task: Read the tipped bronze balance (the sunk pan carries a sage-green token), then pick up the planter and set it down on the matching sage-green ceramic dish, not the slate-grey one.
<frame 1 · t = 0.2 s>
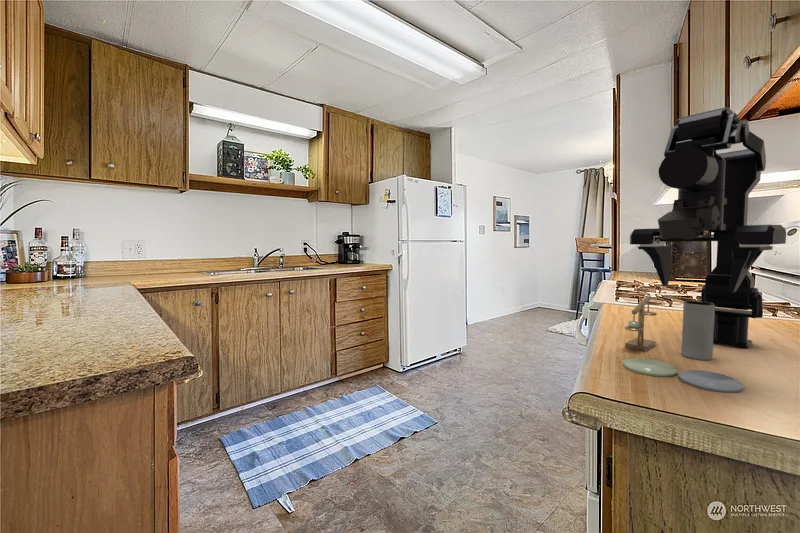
hand: (696, 288, 59), 14 cm above the counter, fingers open, 9 cm apart
balance: (640, 346, 74), on the counter
planter: (696, 357, 68), on the counter
dish green: (649, 368, 62), on the counter
dish grey: (709, 382, 56), on the counter
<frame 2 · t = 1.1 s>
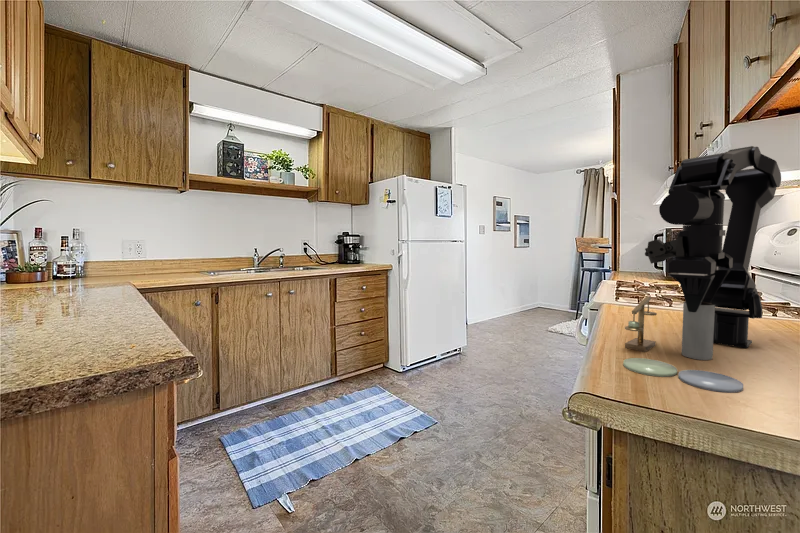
hand: (699, 308, 67), 9 cm above the counter, fingers open, 9 cm apart
nothing on the counter moved.
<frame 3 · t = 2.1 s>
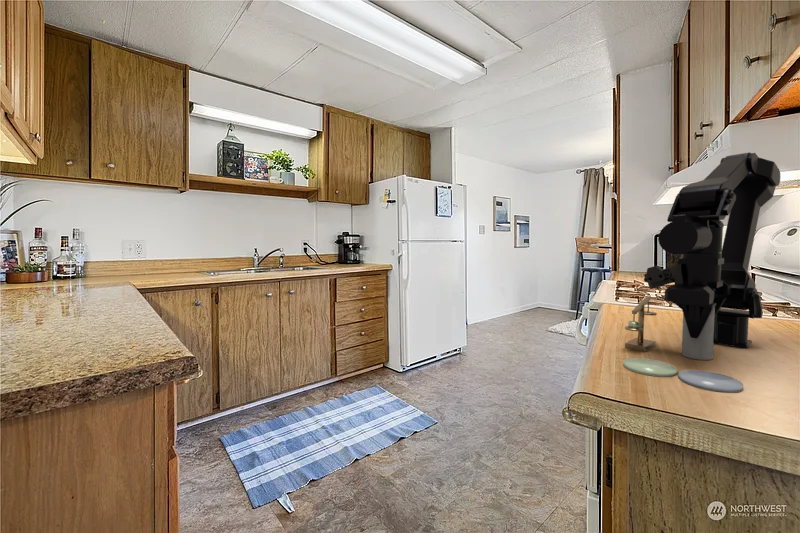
hand: (697, 335, 68), 4 cm above the counter, fingers closed on planter, 4 cm apart
planter: (696, 357, 68), on the counter, touching gripper
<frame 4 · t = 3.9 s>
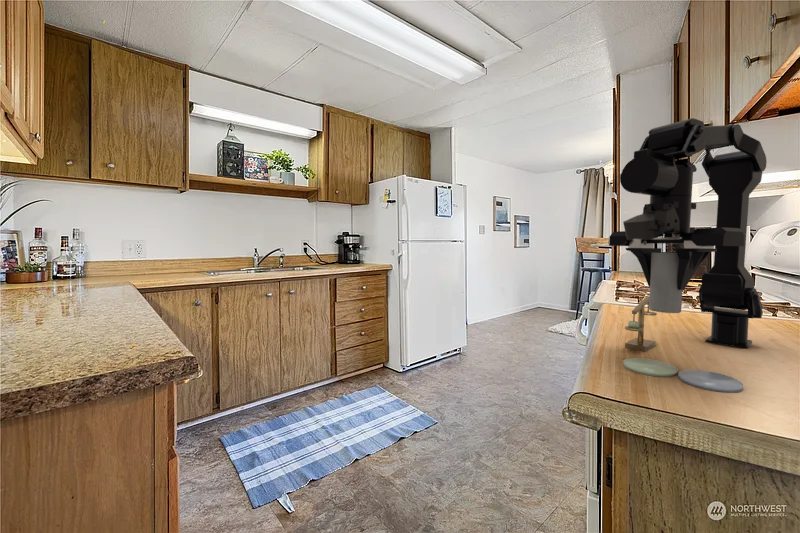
hand: (665, 288, 62), 14 cm above the counter, fingers closed on planter, 4 cm apart
planter: (664, 312, 63), point 10 cm above the counter, touching gripper
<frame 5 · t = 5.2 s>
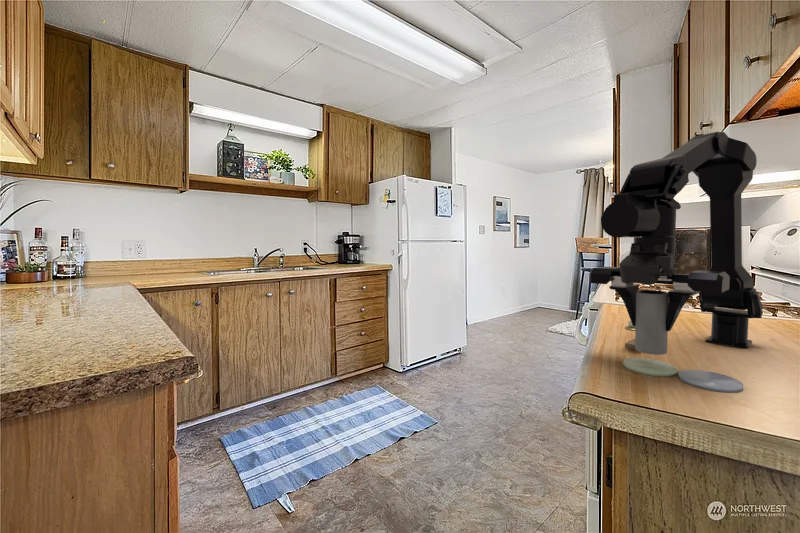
hand: (651, 328, 61), 7 cm above the counter, fingers closed on planter, 4 cm apart
planter: (650, 352, 62), point 3 cm above the counter, touching gripper
when the fingers open (5 cm above the counter, at t = 5.9 s): planter stays where it is, resting on dish green.
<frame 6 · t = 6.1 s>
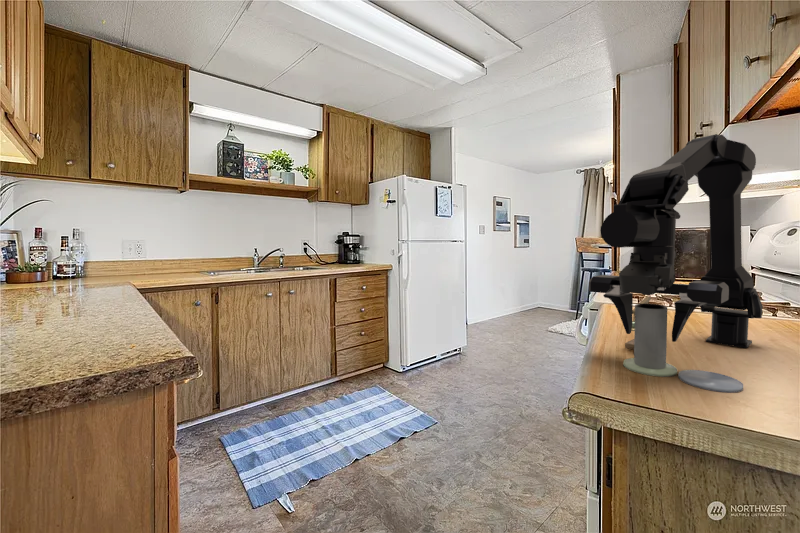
hand: (650, 337, 61), 5 cm above the counter, fingers open, 6 cm apart
planter: (649, 365, 62), resting on dish green
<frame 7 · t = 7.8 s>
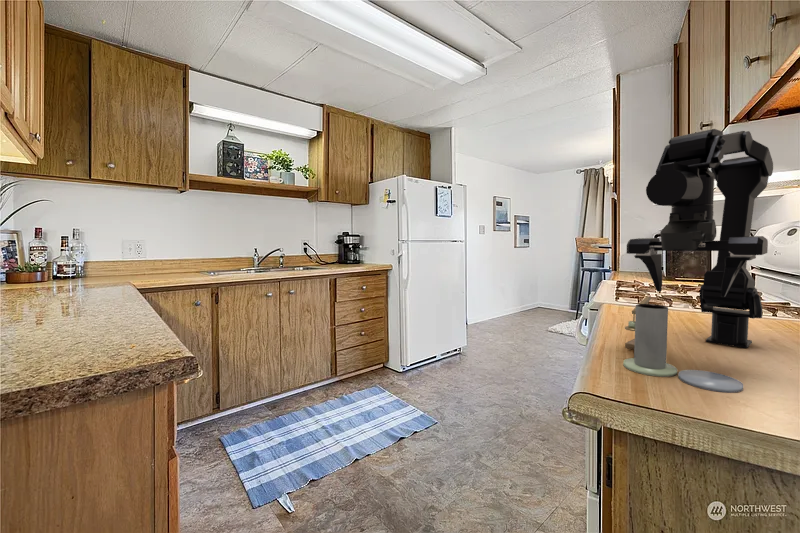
hand: (689, 293, 64), 12 cm above the counter, fingers open, 9 cm apart
nothing on the counter moved.
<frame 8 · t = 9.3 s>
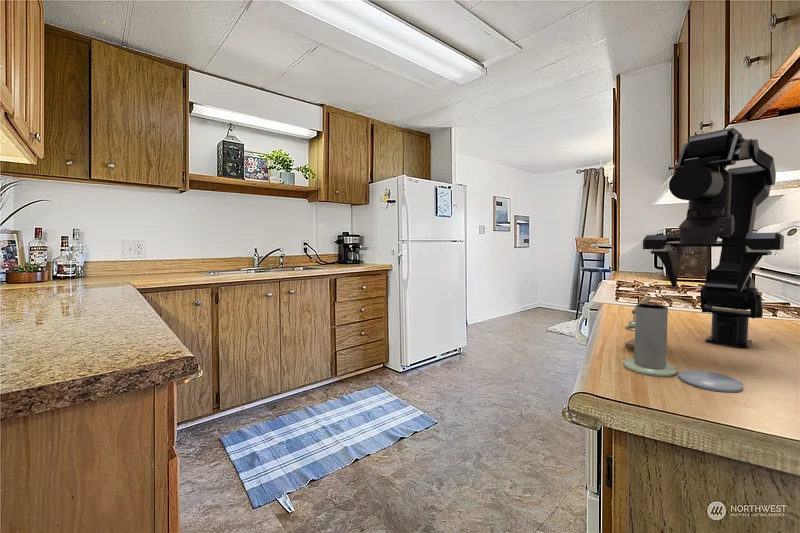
hand: (705, 289, 66), 13 cm above the counter, fingers open, 9 cm apart
nothing on the counter moved.
at the end: planter inside the target area on the dish green (0.1 cm from its centre), point 0.4 cm above the dish green's base; planter tilted 0°; the gripper is holding nothing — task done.
